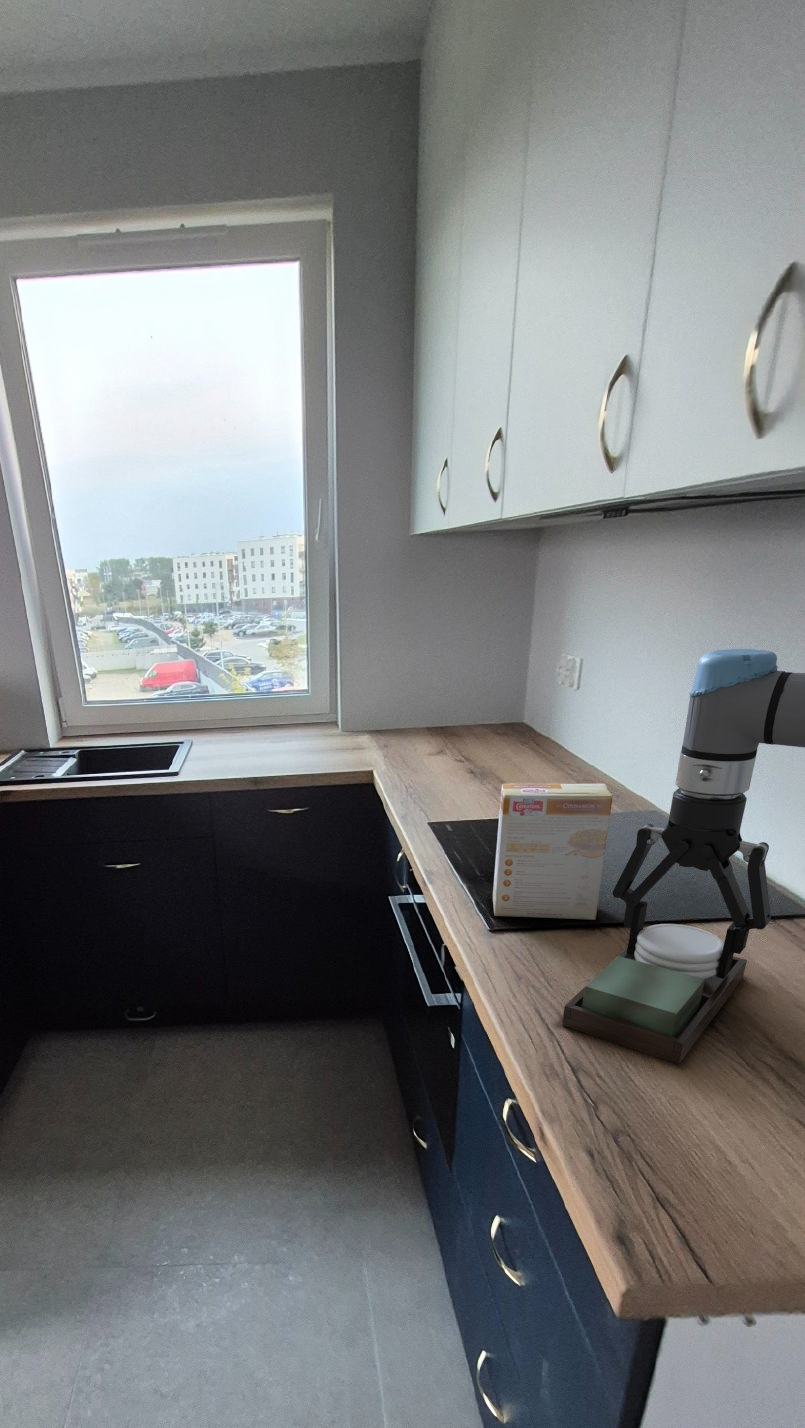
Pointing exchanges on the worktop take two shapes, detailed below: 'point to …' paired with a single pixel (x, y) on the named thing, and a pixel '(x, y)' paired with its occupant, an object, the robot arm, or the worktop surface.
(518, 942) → the worktop surface
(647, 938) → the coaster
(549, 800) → the coffeecake box
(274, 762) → the worktop surface
